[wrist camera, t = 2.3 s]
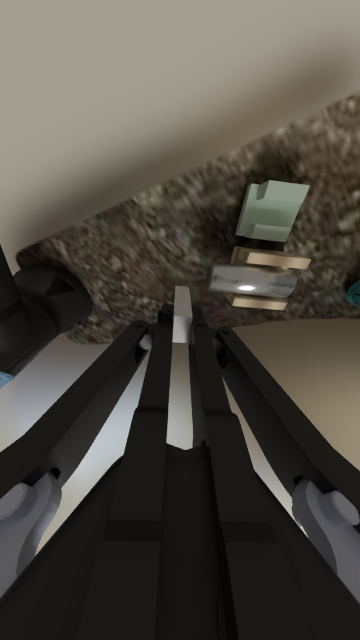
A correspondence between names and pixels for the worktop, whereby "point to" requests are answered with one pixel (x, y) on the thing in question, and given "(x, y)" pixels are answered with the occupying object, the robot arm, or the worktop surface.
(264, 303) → the wooden bracket
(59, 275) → the robot arm
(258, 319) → the worktop surface
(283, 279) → the axle
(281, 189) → the v block
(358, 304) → the beverage bottle
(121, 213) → the worktop surface
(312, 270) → the worktop surface
